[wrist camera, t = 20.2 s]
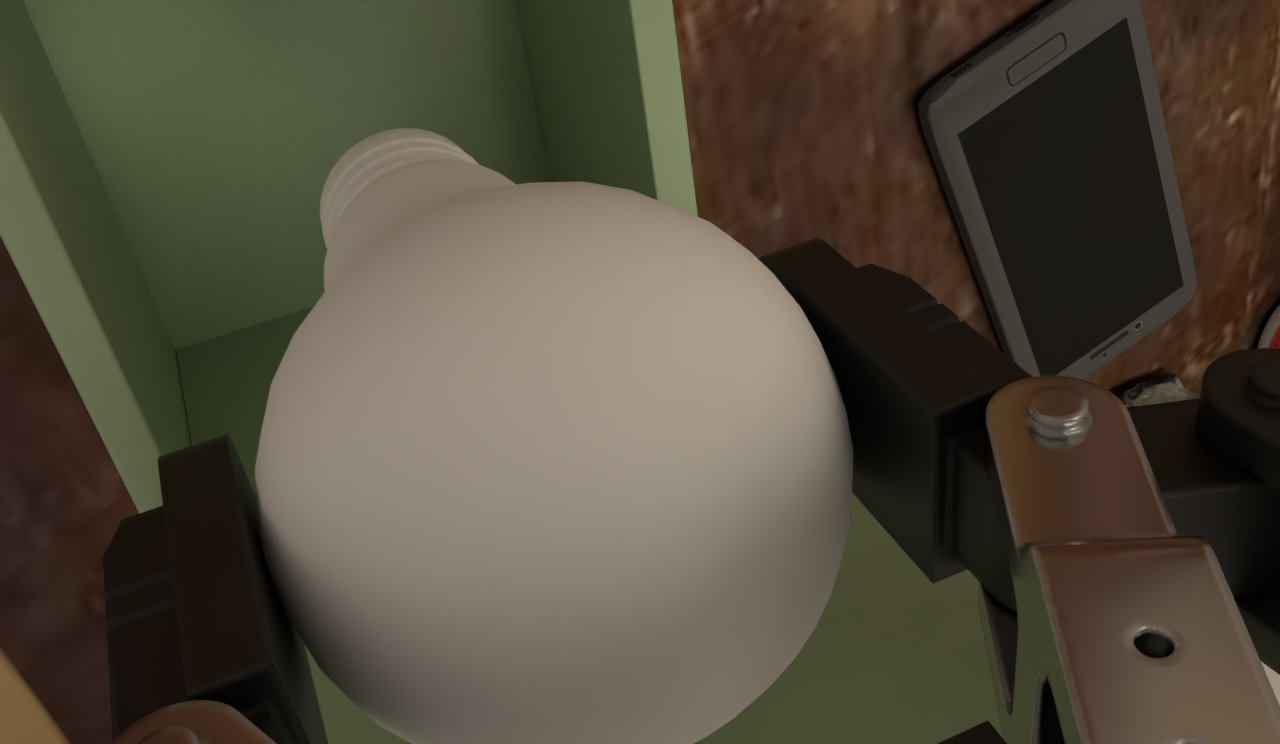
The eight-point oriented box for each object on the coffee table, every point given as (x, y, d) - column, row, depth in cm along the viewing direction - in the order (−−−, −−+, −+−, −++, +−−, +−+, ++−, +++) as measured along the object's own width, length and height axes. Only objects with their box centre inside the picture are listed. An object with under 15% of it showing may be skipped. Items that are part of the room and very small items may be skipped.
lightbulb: (95, 109, 17) (148, 649, 8) (487, -86, 18) (912, 225, 9) (311, 419, 21) (500, 1010, 12) (626, 247, 21) (1018, 692, 13)
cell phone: (1115, -48, 35) (1133, -41, 35) (1187, 289, 44) (1203, 298, 43) (907, 97, 35) (922, 106, 34) (1021, 406, 44) (1035, 417, 43)
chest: (-91, -163, 23) (-149, -60, 16) (487, -283, 26) (644, -236, 19) (151, 370, 31) (180, 597, 24) (582, 233, 33) (720, 401, 26)
